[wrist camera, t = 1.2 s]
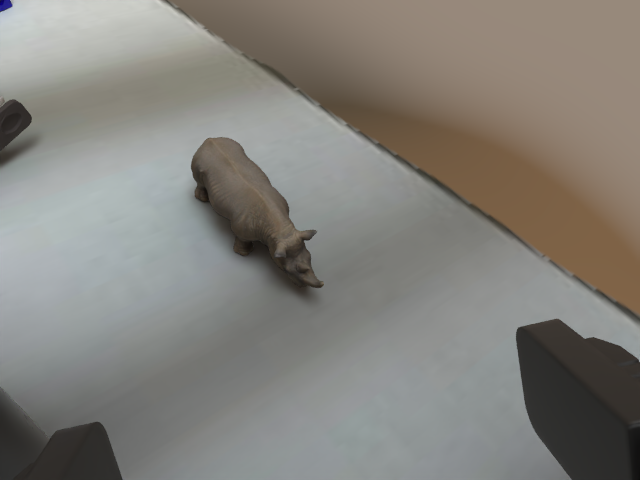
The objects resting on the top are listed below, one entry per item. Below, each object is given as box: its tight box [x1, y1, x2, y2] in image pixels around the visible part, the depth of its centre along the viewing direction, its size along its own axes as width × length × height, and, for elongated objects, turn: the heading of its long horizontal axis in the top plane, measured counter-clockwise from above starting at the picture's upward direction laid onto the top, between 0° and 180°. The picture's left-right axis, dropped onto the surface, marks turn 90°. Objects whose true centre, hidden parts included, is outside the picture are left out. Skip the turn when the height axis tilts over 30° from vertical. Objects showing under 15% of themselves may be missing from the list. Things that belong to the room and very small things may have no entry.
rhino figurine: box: [191, 137, 324, 288], centre depth 39 cm, size 4×14×6 cm, turn 37°
